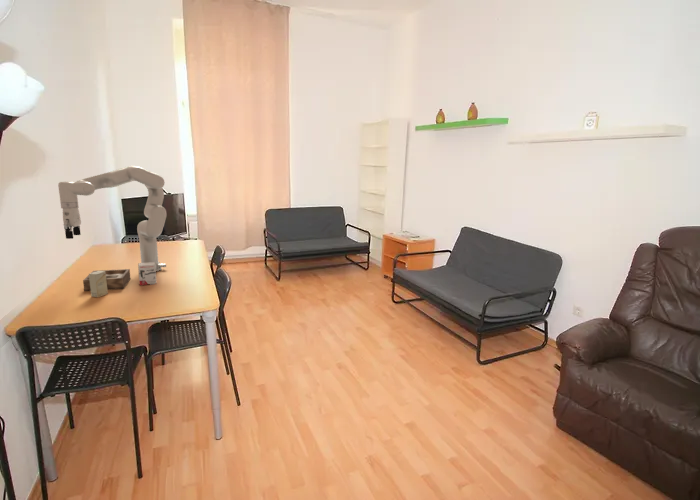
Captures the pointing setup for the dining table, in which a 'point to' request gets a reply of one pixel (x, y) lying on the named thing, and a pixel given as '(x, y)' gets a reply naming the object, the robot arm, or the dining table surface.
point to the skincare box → (98, 283)
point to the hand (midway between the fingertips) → (73, 236)
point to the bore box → (112, 279)
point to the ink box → (147, 273)
